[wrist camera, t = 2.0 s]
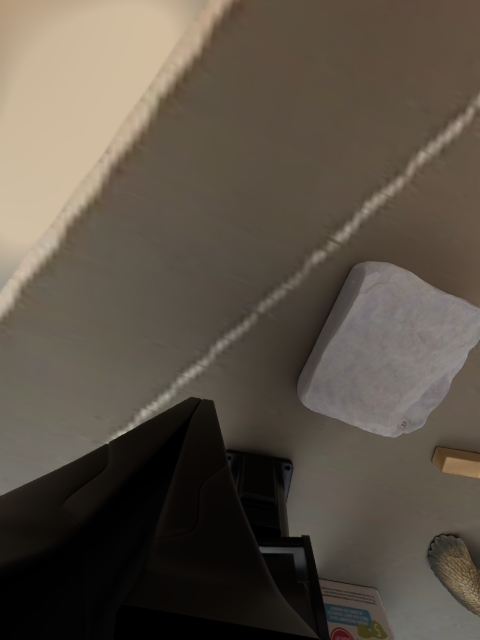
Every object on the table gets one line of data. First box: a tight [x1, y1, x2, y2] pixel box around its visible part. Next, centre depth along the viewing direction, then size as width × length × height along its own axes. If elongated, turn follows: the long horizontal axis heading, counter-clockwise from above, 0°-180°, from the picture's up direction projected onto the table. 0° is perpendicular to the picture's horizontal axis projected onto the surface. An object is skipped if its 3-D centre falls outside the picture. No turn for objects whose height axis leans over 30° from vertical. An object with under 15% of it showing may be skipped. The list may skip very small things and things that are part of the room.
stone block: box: [297, 261, 480, 437], centre depth 17 cm, size 12×5×10 cm
